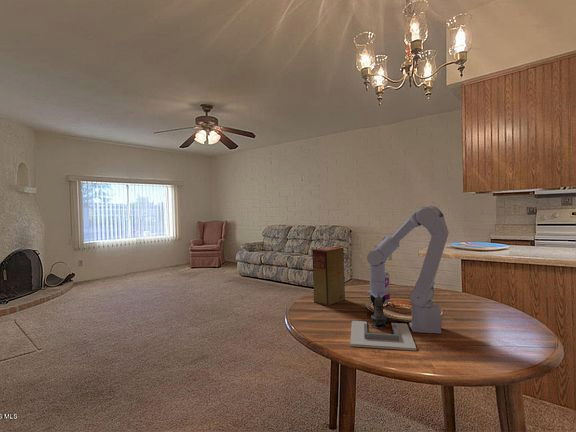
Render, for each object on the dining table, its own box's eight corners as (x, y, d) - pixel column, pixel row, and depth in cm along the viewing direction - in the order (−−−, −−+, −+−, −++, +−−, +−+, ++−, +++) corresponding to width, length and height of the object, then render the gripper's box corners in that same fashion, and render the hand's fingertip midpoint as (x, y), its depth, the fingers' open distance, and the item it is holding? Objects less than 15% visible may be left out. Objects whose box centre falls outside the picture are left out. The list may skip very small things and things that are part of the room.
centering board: (406, 325, 116) (406, 319, 116) (416, 350, 96) (416, 342, 96) (351, 322, 120) (351, 316, 120) (350, 346, 101) (350, 338, 101)
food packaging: (330, 295, 156) (329, 245, 155) (346, 299, 149) (345, 247, 148) (312, 302, 147) (311, 249, 146) (328, 306, 140) (326, 250, 139)
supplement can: (392, 307, 137) (391, 273, 136) (373, 307, 137) (372, 273, 137) (386, 301, 145) (386, 269, 145) (368, 301, 145) (368, 269, 145)
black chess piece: (388, 329, 113) (387, 297, 112) (371, 329, 114) (370, 296, 114) (386, 323, 119) (386, 292, 118) (370, 323, 120) (369, 291, 119)
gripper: (366, 275, 130) (367, 308, 131) (367, 284, 116) (368, 320, 117) (384, 276, 129) (384, 308, 129) (387, 285, 115) (387, 321, 115)
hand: (378, 314), depth 123 cm, fingers closed
